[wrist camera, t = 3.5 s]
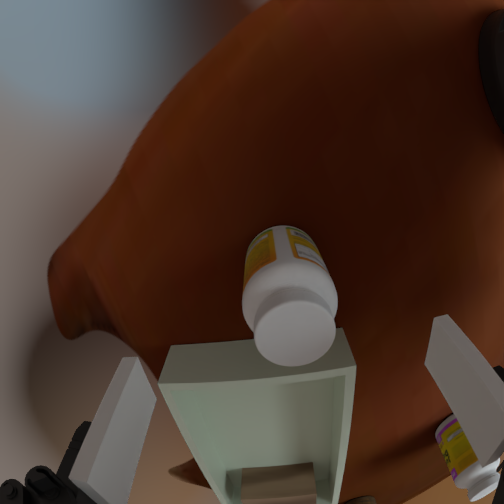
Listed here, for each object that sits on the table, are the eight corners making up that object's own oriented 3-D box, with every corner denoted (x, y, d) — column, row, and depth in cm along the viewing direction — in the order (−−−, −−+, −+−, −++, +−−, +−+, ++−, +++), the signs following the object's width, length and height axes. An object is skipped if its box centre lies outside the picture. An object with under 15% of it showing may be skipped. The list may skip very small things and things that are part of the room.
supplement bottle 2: (428, 427, 32) (459, 502, 20) (469, 399, 31) (509, 470, 19) (439, 442, 34) (466, 508, 22) (476, 417, 32) (510, 480, 21)
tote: (171, 345, 27) (157, 383, 22) (342, 327, 26) (356, 365, 21) (229, 485, 37) (227, 513, 32) (332, 477, 36) (337, 504, 31)
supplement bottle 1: (250, 294, 25) (246, 382, 16) (241, 228, 23) (230, 294, 14) (319, 286, 25) (347, 370, 16) (315, 220, 23) (351, 280, 14)
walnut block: (242, 467, 34) (240, 499, 29) (312, 461, 33) (316, 493, 29) (247, 483, 36) (247, 512, 31) (312, 477, 35) (316, 506, 30)
